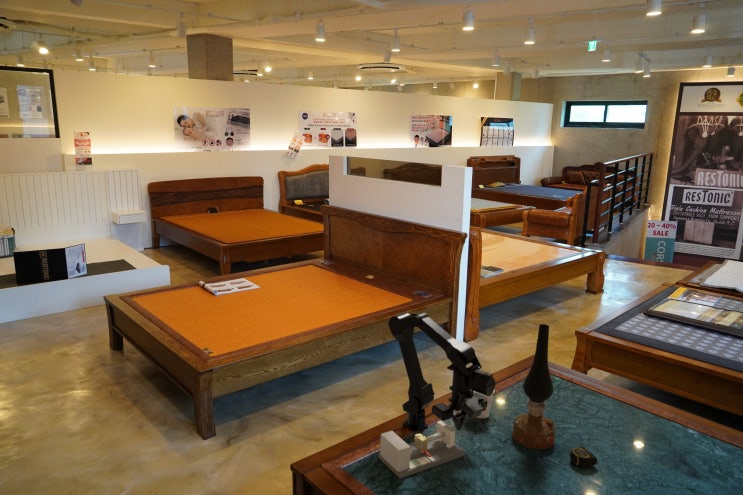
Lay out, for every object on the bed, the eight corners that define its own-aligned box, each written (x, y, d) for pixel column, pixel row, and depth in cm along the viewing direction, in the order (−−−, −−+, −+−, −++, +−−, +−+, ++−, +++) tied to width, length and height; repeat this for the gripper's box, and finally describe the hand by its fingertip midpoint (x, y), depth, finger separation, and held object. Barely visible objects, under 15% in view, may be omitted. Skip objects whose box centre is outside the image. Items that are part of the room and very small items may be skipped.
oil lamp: (505, 439, 187) (487, 327, 181) (543, 425, 191) (527, 315, 185) (528, 457, 174) (510, 338, 168) (568, 442, 178) (552, 325, 172)
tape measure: (597, 468, 167) (599, 457, 166) (579, 471, 165) (580, 460, 164) (582, 455, 173) (584, 444, 172) (564, 458, 171) (565, 447, 170)
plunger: (417, 441, 173) (418, 427, 172) (440, 434, 177) (441, 420, 176) (431, 453, 167) (432, 438, 166) (454, 445, 171) (455, 430, 170)
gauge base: (378, 457, 169) (379, 432, 167) (440, 437, 181) (441, 413, 179) (399, 478, 159) (401, 452, 157) (464, 455, 171) (465, 430, 169)
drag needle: (414, 446, 170) (414, 434, 169) (419, 444, 171) (420, 433, 170) (427, 458, 164) (428, 446, 163) (433, 456, 165) (433, 444, 164)
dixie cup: (479, 422, 191) (481, 396, 188) (464, 411, 198) (465, 386, 196) (497, 416, 195) (499, 390, 193) (481, 406, 202) (483, 381, 200)
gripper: (454, 403, 161) (451, 450, 165) (501, 389, 171) (497, 434, 174) (431, 387, 170) (429, 433, 174) (477, 375, 180) (474, 418, 183)
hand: (458, 430), depth 176 cm, fingers closed
